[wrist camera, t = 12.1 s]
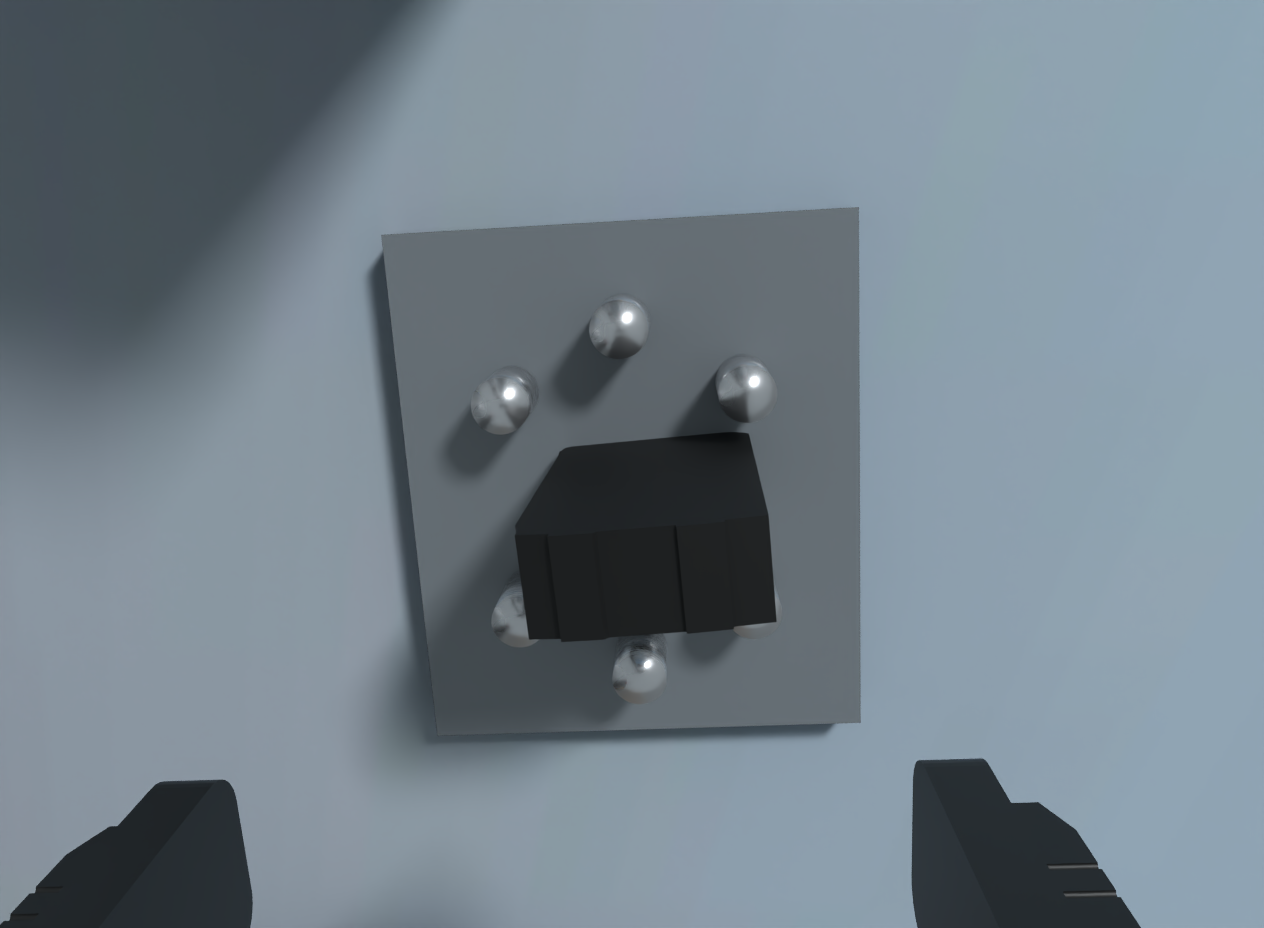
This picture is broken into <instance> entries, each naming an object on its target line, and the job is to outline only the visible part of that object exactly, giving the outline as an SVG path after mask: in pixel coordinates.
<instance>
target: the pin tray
mask: <svg viewBox="0 0 1264 928" xmlns="http://www.w3.org/2000/svg"><path fill="white" fill-rule="evenodd" d="M381 236H382V245H383V254H384V263H385V272H386V281H387V290H388V299H389V308H390V317H391V326H392V334H393V343H394V352H395V361H396V370H397V379H398V388H399V397H400V406H401V415H402V424H403V433H404V442H405V451H406V460H407V469H408V478H409V487H410V495H411V504H412V513H413V522H414V531H415V540H416V549H417V558H418V567H419V576H420V585H421V594H422V603H423V612H424V621H425V630H426V639H427V648H428V656H429V665H430V674H431V683H432V692H433V701H434V710H435V719H436V728H437V736H446V735H478V734H511V733H543V732H575V731H607V730H640V729H672V728H704V727H736V726H769V725H801V724H833V723H861V716H860V411H859V207H855V208H838V209H821V210H803V211H786V212H769V213H752V214H735V215H717V216H700V217H683V218H666V219H648V220H631V221H614V222H597V223H580V224H562V225H545V226H528V227H511V228H493V229H476V230H459V231H442V232H424V233H407V234H390V235H381ZM722 432H743V433H748V434H749V436H750V441H751V445H752V449H753V453H754V457H755V461H756V465H757V469H758V473H759V477H760V482H761V486H762V490H763V494H764V498H765V502H766V506H767V510H768V514H769V526H770V539H771V553H772V566H773V579H774V592H775V606H776V619H777V622H773V623H764V624H755V625H745V626H736V627H734V629H732V630H721V631H711V632H701V633H691V634H687V632H677V633H664V634H650V635H637V636H623V637H610V638H607V639H605V640H590V641H573V642H561V639H532V640H529V637H528V629H527V622H526V615H525V607H524V600H523V593H522V586H521V578H520V571H519V564H518V556H517V549H516V542H515V534H516V529H515V525H516V523H517V522H518V520H519V518H520V517H521V515H522V513H523V512H524V510H525V509H526V507H527V505H528V504H529V502H530V501H531V499H532V497H533V496H534V494H535V493H536V491H537V489H538V488H539V486H540V484H541V483H542V481H543V480H544V478H545V476H546V475H547V473H548V472H549V470H550V468H551V467H552V465H553V464H554V462H555V460H556V459H557V457H558V455H559V452H560V451H562V450H563V449H564V448H567V447H573V446H583V445H593V444H604V443H614V442H625V441H636V440H646V439H657V438H668V437H679V436H689V435H700V434H711V433H722Z"/></svg>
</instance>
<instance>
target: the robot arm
mask: <svg viewBox="0 0 1264 928" xmlns="http://www.w3.org/2000/svg"><path fill="white" fill-rule="evenodd" d="M912 894H913V904H914V911H915V917H916V922H917V927H918V928H1141V927H1140V926H1139V924H1138V923H1137V921H1136V920H1135V918H1134V917H1133V915H1132V914H1131V912H1130V911H1129V909H1128V908H1127V906H1126V905H1125V903H1124V902H1123V900H1122V899H1121V897H1117V895H1116V890H1115V888H1114V887H1113V885H1112V884H1111V882H1110V881H1109V879H1108V878H1107V876H1106V875H1105V873H1104V872H1103V870H1102V869H1099V868H1098V862H1097V861H1096V859H1095V858H1094V856H1093V855H1092V853H1091V852H1090V850H1089V849H1088V847H1087V846H1086V844H1085V843H1084V841H1083V840H1082V838H1081V837H1080V835H1079V834H1078V832H1077V831H1076V830H1075V829H1074V828H1073V827H1071V826H1070V825H1069V824H1067V823H1066V822H1064V821H1063V820H1062V819H1060V818H1059V817H1058V816H1056V815H1055V814H1053V813H1052V812H1051V811H1049V810H1048V809H1047V808H1045V807H1044V806H1042V805H1041V804H1040V803H1038V802H1035V803H1011V802H1010V800H1009V799H1008V797H1007V795H1006V794H1005V792H1004V790H1003V788H1002V787H1001V785H1000V783H999V782H998V780H997V778H996V776H995V775H994V773H993V771H992V770H991V768H990V766H989V765H988V763H987V762H986V761H985V760H984V759H950V760H919V761H917V762H916V764H915V768H914V775H913V822H912ZM252 905H253V902H252V890H251V884H250V878H249V872H248V866H247V860H246V854H245V848H244V842H243V836H242V830H241V824H240V818H239V812H238V806H237V800H236V796H235V793H234V790H233V788H232V786H231V785H230V783H229V782H227V781H226V780H197V781H164V782H160V783H158V784H156V785H155V786H154V787H153V788H152V789H151V790H150V791H149V792H148V793H147V794H146V795H145V796H144V797H143V799H142V800H141V801H140V802H139V803H138V804H137V805H136V806H135V807H134V809H133V810H132V811H131V812H130V813H129V814H128V815H127V816H126V817H125V819H124V820H123V821H122V822H121V823H120V824H119V825H118V826H112V827H108V828H107V829H105V830H104V831H102V832H101V833H99V834H97V835H96V836H94V837H93V838H91V839H90V840H88V841H87V842H85V843H84V844H82V845H80V846H79V847H77V848H76V849H74V850H73V851H71V852H70V853H68V854H67V855H66V856H65V857H64V858H63V859H62V860H61V861H60V862H59V863H58V864H57V865H56V866H55V867H54V868H53V869H52V870H51V871H50V873H49V874H48V875H47V876H46V877H45V878H44V879H43V880H42V881H41V882H40V883H39V884H38V885H37V886H36V891H35V893H32V894H29V895H28V896H27V897H26V898H25V899H24V900H23V901H22V902H21V903H20V904H19V906H18V907H17V908H16V909H15V910H14V911H13V912H12V913H11V917H10V920H9V921H3V923H2V924H1V925H0V928H250V925H251V919H252Z"/></svg>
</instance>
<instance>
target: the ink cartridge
mask: <svg viewBox="0 0 1264 928" xmlns="http://www.w3.org/2000/svg"><path fill="white" fill-rule="evenodd" d="M515 529H516V534H515V542H516V549H517V556H518V564H519V571H520V578H521V586H522V593H523V600H524V607H525V615H526V622H527V629H528V637H529V640H532V639H561V642H573V641H590V640H605V639H607V638H610V637H623V636H637V635H650V634H664V633H677V632H687V634H691V633H701V632H711V631H721V630H732V629H734V627H736V626H745V625H755V624H764V623H773V622H777V619H776V606H775V592H774V579H773V566H772V553H771V539H770V526H769V514H768V510H767V506H766V502H765V498H764V494H763V490H762V486H761V482H760V477H759V473H758V469H757V465H756V461H755V457H754V453H753V449H752V445H751V441H750V436H749V434H748V433H743V432H722V433H711V434H700V435H689V436H679V437H668V438H657V439H646V440H636V441H625V442H614V443H604V444H593V445H583V446H573V447H567V448H564V449H563V450H562V451H560V452H559V455H558V457H557V459H556V460H555V462H554V464H553V465H552V467H551V468H550V470H549V472H548V473H547V475H546V476H545V478H544V480H543V481H542V483H541V484H540V486H539V488H538V489H537V491H536V493H535V494H534V496H533V497H532V499H531V501H530V502H529V504H528V505H527V507H526V509H525V510H524V512H523V513H522V515H521V517H520V518H519V520H518V522H517V523H516V525H515Z"/></svg>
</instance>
